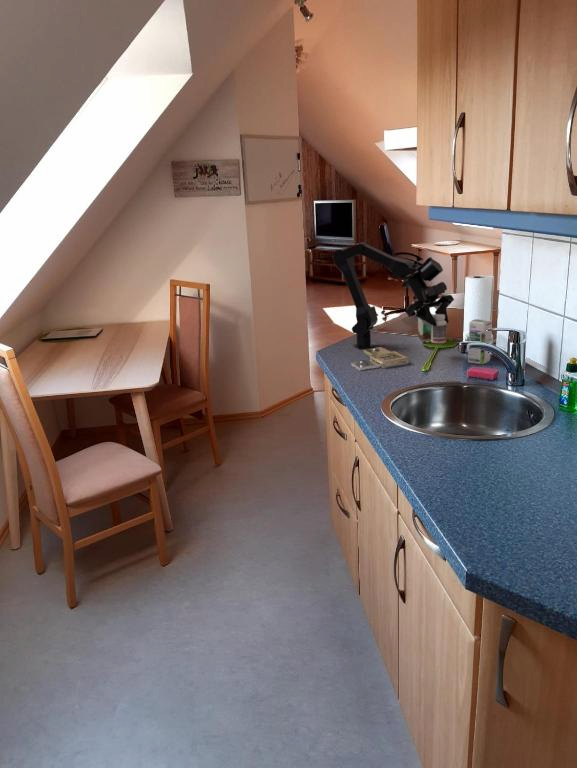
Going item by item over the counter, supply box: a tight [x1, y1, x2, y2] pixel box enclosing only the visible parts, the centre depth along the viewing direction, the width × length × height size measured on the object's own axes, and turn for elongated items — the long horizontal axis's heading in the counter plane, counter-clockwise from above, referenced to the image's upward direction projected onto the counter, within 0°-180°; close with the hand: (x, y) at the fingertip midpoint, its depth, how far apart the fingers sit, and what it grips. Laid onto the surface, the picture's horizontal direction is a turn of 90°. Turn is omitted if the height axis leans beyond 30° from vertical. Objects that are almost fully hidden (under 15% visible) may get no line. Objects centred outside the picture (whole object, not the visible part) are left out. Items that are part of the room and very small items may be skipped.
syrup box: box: [467, 318, 493, 365], centre depth 209 cm, size 6×6×14 cm
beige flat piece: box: [350, 346, 409, 371], centre depth 219 cm, size 18×18×3 cm
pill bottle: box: [430, 313, 448, 344], centre depth 216 cm, size 5×5×10 cm
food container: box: [417, 313, 435, 345], centre depth 241 cm, size 12×6×10 cm, turn 179°
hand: (441, 324), depth 215 cm, fingers closed on pill bottle, 5 cm apart
